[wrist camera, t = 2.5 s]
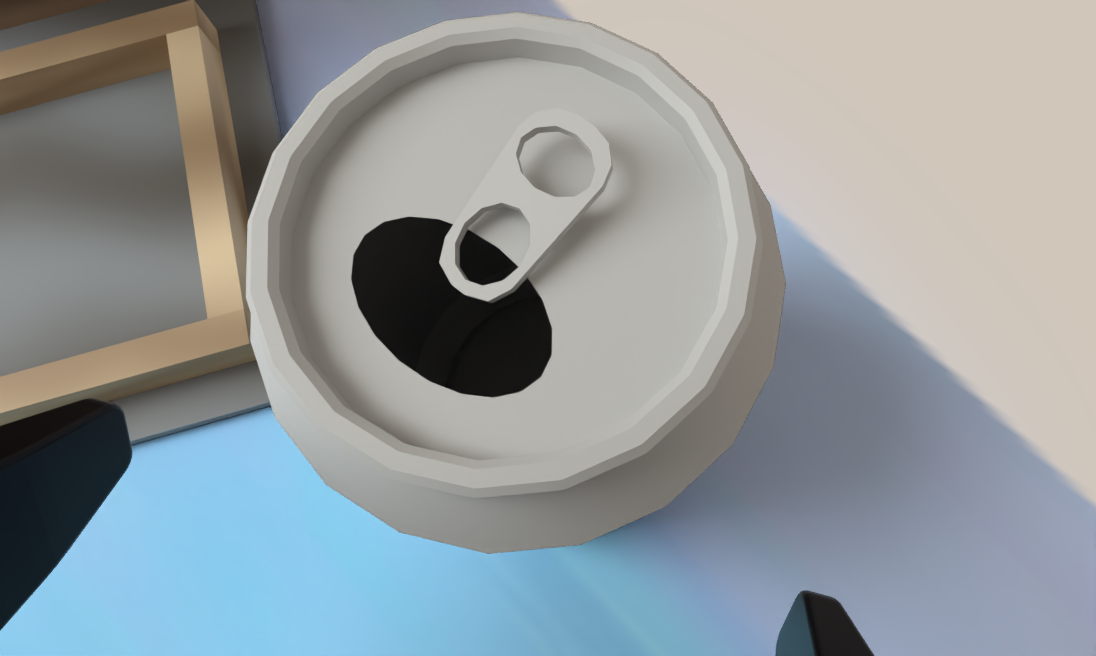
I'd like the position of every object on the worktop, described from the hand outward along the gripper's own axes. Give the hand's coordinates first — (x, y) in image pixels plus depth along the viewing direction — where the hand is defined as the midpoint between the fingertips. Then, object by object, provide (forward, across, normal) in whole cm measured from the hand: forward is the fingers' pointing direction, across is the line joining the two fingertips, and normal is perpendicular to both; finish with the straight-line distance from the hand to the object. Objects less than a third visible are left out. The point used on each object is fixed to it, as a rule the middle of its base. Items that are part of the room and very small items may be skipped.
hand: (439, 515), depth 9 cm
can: (+10, 0, +5) cm, 11 cm away
